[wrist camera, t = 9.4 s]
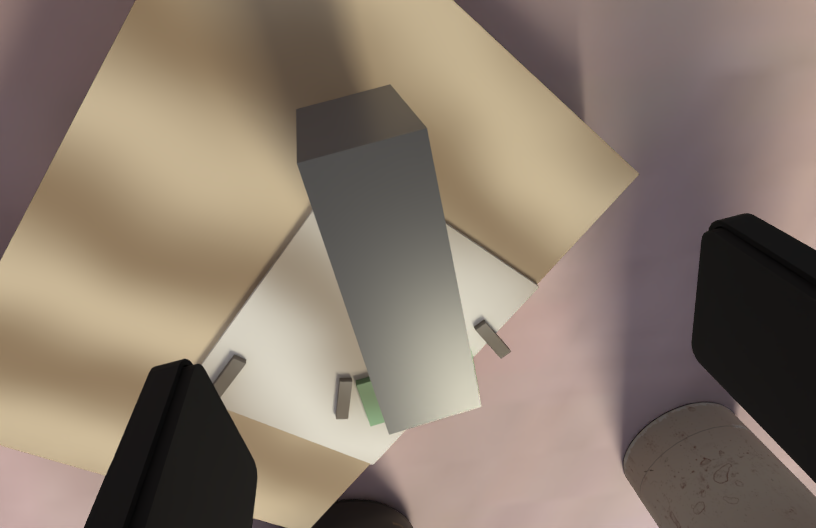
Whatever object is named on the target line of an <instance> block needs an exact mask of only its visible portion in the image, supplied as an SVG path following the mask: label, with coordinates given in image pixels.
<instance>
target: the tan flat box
mask: <svg viewBox="0 0 816 528" xmlns="http://www.w3.org/2000/svg"><path fill="white" fill-rule="evenodd" d="M389 84H391V86H392V87H393V88H394V89H395V90H396V92H397V93H398V94H399V95H400V96H401V98H402V99H403V100H404V101H405V102H406V104H407V105H408V106H409V107H410V108H411V109H412V111H413V112H414V113H415V114H416V115H417V117H418V118H419V119H420V120H421V121H422V123H423V124H424V125H425V126H426V127H427V130H428V135H429V140H430V146H431V151H432V156H433V161H434V166H435V171H436V176H437V181H438V186H439V192H440V197H441V202H442V207H443V212H444V217H445V222H446V227H447V232H448V238H449V243H450V248H451V253H452V258H453V263H454V268H455V273H456V279H457V284H458V289H459V294H460V299H461V304H462V309H463V314H464V319H465V325H466V330H467V335H468V340H469V345H470V350H471V355H472V360H473V357H474V356H475V355H476V354H477V353H478V352H479V351H480V350H481V349H482V348H483V347H484V345H485V344H486V343H487V344H488V345H489V346H490V347H491V348H492V349H493V350H494V351H495V353H496V354H497V355H498V356H499V357H500V358H503V357H504V356H506V355H507V354H508V353H510V352H511V351H510V349H509V348H508V347H507V345H506V344H505V343H504V342H503V341H502V340H501V339H500V337H499V336H498V335H497V334H496V333H497V331H498V330H499V329H500V328H501V327H502V326H503V325H504V324H505V323H506V322H507V321H508V320H509V319H510V318H511V316H512V315H513V314H514V313H515V312H516V311H517V310H518V309H519V308H520V307H521V306H522V305H523V304H524V303H525V301H526V300H527V299H528V298H529V297H530V296H531V295H532V294H533V293H534V292H535V291H536V290H537V289H538V288H539V286H538V285H537V284H538V283H539V282H540V281H541V279H542V278H543V277H544V276H545V275H546V274H547V273H548V272H549V271H550V270H551V269H552V268H553V267H554V265H555V264H556V263H557V262H558V261H559V260H560V259H561V258H562V257H563V256H564V255H565V254H566V253H567V251H568V250H569V249H570V248H571V247H572V246H573V245H574V244H575V243H576V242H577V241H578V240H579V239H580V237H581V236H582V235H583V234H584V233H585V232H586V231H587V230H588V229H589V228H590V227H591V226H592V225H593V223H594V222H595V221H596V220H597V219H598V218H599V217H600V216H601V215H602V214H603V213H604V212H605V211H606V209H607V208H608V207H609V206H610V205H611V204H612V203H613V202H614V201H615V200H616V199H617V198H618V197H619V195H620V194H621V193H622V192H623V191H624V190H625V189H626V188H627V187H628V186H629V185H630V184H631V183H632V181H633V180H634V179H635V178H636V177H637V176H638V175H639V173H638V172H637V171H636V170H635V169H634V168H632V167H631V166H630V165H629V164H628V163H627V162H626V161H625V160H624V159H623V158H622V157H621V156H620V155H618V154H617V153H616V152H615V151H614V150H613V149H612V148H611V147H610V146H609V145H608V144H607V143H606V142H605V141H603V140H602V139H601V138H600V137H599V136H598V135H597V134H596V133H595V132H594V131H593V130H592V129H591V128H589V127H588V126H587V125H586V124H585V123H584V122H583V121H582V120H581V119H580V118H579V117H578V116H577V115H576V114H574V113H573V112H572V111H571V110H570V109H569V108H568V107H567V106H566V105H565V104H564V103H563V102H562V101H560V100H559V99H558V98H557V97H556V96H555V95H554V94H553V93H552V92H551V91H550V90H549V89H548V88H547V87H545V86H544V85H543V84H542V83H541V82H540V81H539V80H538V79H537V78H536V77H535V76H534V75H533V74H531V73H530V72H529V71H528V70H527V69H526V68H525V67H524V66H523V65H522V64H521V63H520V62H519V61H518V60H516V59H515V58H514V57H513V56H512V55H511V54H510V53H509V52H508V51H507V50H506V49H505V48H504V47H503V46H501V45H500V44H499V43H498V42H497V41H496V40H495V39H494V38H493V37H492V36H491V35H490V34H489V33H487V32H486V31H485V30H484V29H483V28H482V27H481V26H480V25H479V24H478V23H477V22H476V21H475V20H474V19H472V18H471V17H470V16H469V15H468V14H467V13H466V12H465V11H464V10H463V9H462V8H461V7H460V6H458V5H457V4H456V3H455V2H454V1H453V0H136V1H135V2H134V4H133V6H132V8H131V10H130V12H129V14H128V16H127V18H126V20H125V22H124V24H123V26H122V27H121V29H120V31H119V33H118V35H117V37H116V39H115V41H114V43H113V45H112V47H111V49H110V51H109V53H108V54H107V56H106V58H105V60H104V62H103V64H102V66H101V68H100V70H99V72H98V74H97V76H96V78H95V79H94V81H93V83H92V85H91V87H90V89H89V91H88V93H87V95H86V97H85V99H84V101H83V103H82V105H81V106H80V108H79V110H78V112H77V114H76V116H75V118H74V120H73V122H72V124H71V126H70V128H69V130H68V131H67V133H66V135H65V137H64V139H63V141H62V143H61V145H60V147H59V149H58V151H57V153H56V155H55V157H54V158H53V160H52V162H51V164H50V166H49V168H48V170H47V172H46V174H45V176H44V178H43V180H42V182H41V183H40V185H39V187H38V189H37V191H36V193H35V195H34V197H33V199H32V201H31V203H30V205H29V207H28V209H27V210H26V212H25V214H24V216H23V218H22V220H21V222H20V224H19V226H18V228H17V230H16V232H15V234H14V235H13V237H12V239H11V241H10V243H9V245H8V247H7V249H6V251H5V253H4V255H3V257H2V259H1V261H0V445H1V446H4V447H8V448H11V449H15V450H18V451H22V452H25V453H29V454H32V455H36V456H39V457H42V458H46V459H49V460H53V461H56V462H60V463H63V464H67V465H70V466H74V467H77V468H81V469H84V470H88V471H91V472H95V473H98V474H102V475H105V476H106V474H107V471H108V469H109V466H110V465H111V462H112V460H113V458H114V455H115V453H116V450H117V448H118V446H119V443H120V441H121V438H122V436H123V434H124V431H125V429H126V426H127V424H128V422H129V419H130V417H131V414H132V412H133V410H134V407H135V405H136V403H137V400H138V398H139V395H140V393H141V391H142V388H143V386H144V383H145V381H146V379H147V376H148V374H149V372H150V370H151V369H152V368H153V367H155V366H158V365H162V364H166V363H170V362H174V361H177V360H181V359H188V360H190V361H191V362H192V364H193V365H194V364H201V365H202V366H203V367H204V369H205V370H206V372H207V374H208V376H209V378H210V379H211V381H212V383H213V385H214V387H215V389H216V390H217V392H218V394H219V396H220V398H221V400H222V402H223V403H224V405H225V407H226V409H227V411H228V413H229V414H230V416H231V418H232V420H233V422H234V424H235V425H236V427H237V429H238V431H239V433H240V435H241V437H242V438H243V440H244V442H245V444H246V446H247V448H248V449H249V451H250V453H251V455H252V457H253V459H254V461H255V464H256V468H257V476H258V478H257V489H256V497H255V506H254V514H253V518H254V519H258V520H261V521H265V522H268V523H272V524H275V525H279V526H282V527H286V528H311V527H312V526H313V525H314V524H315V523H316V522H317V521H318V520H319V519H320V517H321V516H322V515H323V514H324V513H325V512H326V511H327V510H328V509H329V508H330V507H331V506H332V505H333V503H334V502H335V501H336V500H337V499H338V498H339V497H340V496H341V495H342V494H343V493H344V492H345V491H346V489H347V488H348V487H349V486H350V485H351V484H352V483H353V482H354V481H355V480H356V479H357V478H358V477H359V475H360V474H361V473H362V472H363V471H364V470H365V469H366V468H367V467H368V466H369V465H370V464H372V465H374V463H375V462H376V461H377V460H378V459H379V458H380V457H381V456H382V455H383V454H384V453H385V452H386V451H387V450H388V448H389V447H390V446H391V445H392V444H393V443H394V442H395V441H396V440H397V439H398V438H399V437H400V436H401V435H402V433H403V432H404V431H405V430H403V431H400V432H397V433H393V434H390V435H389V433H388V430H387V427H386V424H385V421H384V418H383V415H382V413H381V410H380V407H379V404H378V401H377V398H376V395H375V392H374V389H373V386H372V383H371V380H370V377H369V374H368V371H367V368H366V366H365V363H364V360H363V357H362V354H361V351H360V348H359V345H358V342H357V339H356V336H355V333H354V330H353V327H352V324H351V321H350V318H349V316H348V313H347V310H346V307H345V304H344V301H343V298H342V295H341V292H340V289H339V286H338V283H337V280H336V277H335V274H334V271H333V268H332V266H331V263H330V260H329V257H328V254H327V251H326V248H325V245H324V242H323V239H322V236H321V233H320V230H319V227H318V224H317V221H316V218H315V216H314V213H313V210H312V207H311V204H310V201H309V198H308V195H307V192H306V189H305V186H304V183H303V180H302V177H301V174H300V171H299V168H298V166H297V140H296V109H299V108H302V107H306V106H310V105H314V104H317V103H321V102H325V101H329V100H333V99H336V98H340V97H344V96H348V95H351V94H355V93H359V92H363V91H367V90H370V89H374V88H378V87H382V86H386V85H389ZM473 365H474V362H473ZM474 371H475V367H474ZM475 376H476V372H475ZM476 381H477V378H476ZM477 386H478V383H477ZM478 391H479V389H478Z"/></svg>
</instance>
